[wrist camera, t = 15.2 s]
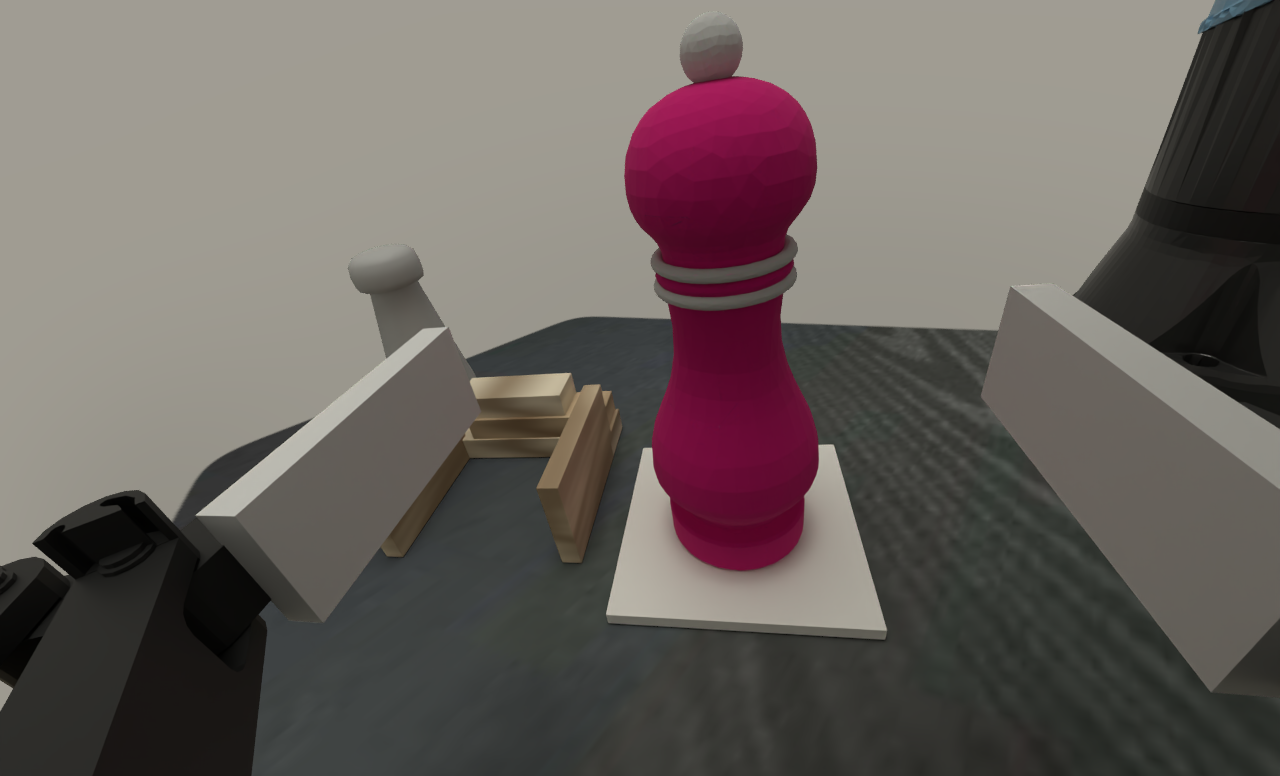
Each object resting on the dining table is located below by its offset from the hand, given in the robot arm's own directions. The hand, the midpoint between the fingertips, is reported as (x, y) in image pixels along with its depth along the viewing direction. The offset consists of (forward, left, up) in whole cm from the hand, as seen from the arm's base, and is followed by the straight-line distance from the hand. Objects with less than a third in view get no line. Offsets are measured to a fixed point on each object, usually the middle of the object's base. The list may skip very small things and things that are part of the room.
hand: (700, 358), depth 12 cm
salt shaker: (+21, -17, -13) cm, 31 cm away
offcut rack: (+13, -10, -13) cm, 21 cm away
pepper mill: (0, -6, -13) cm, 14 cm away
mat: (0, -7, -13) cm, 15 cm away
